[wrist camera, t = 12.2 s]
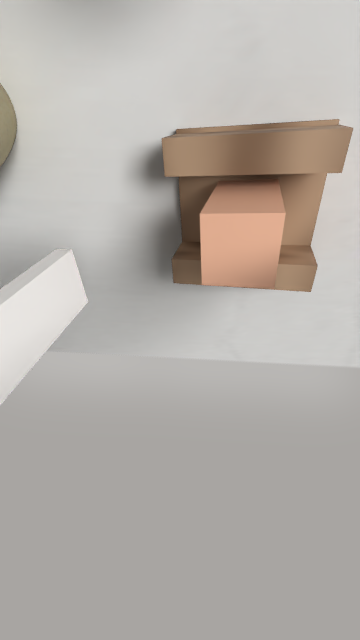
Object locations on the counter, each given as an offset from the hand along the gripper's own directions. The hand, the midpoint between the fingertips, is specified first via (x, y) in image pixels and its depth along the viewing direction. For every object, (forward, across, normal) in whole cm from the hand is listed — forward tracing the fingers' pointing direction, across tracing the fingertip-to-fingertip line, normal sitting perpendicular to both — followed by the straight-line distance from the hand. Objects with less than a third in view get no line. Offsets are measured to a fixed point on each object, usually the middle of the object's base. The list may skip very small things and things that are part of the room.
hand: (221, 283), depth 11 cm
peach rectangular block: (+12, +1, 0) cm, 12 cm away
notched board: (+12, +1, 0) cm, 12 cm away
